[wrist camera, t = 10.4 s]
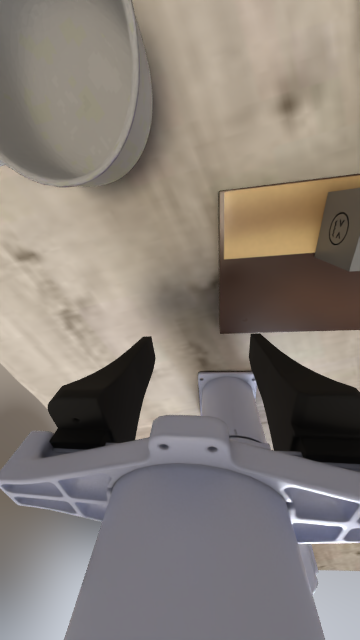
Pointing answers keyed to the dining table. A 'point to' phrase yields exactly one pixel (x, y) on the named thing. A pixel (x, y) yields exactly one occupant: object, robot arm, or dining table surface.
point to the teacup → (72, 90)
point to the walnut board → (282, 261)
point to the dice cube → (341, 230)
